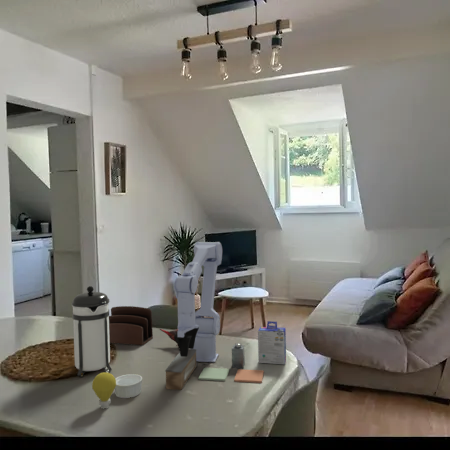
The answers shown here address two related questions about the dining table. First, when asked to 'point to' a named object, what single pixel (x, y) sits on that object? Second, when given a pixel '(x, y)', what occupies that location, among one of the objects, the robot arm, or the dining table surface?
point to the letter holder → (130, 325)
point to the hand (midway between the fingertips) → (187, 352)
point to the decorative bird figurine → (171, 334)
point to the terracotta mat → (249, 376)
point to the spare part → (238, 356)
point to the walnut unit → (180, 370)
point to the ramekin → (128, 385)
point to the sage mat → (214, 374)
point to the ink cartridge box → (272, 344)
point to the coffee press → (91, 331)
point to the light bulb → (104, 388)
